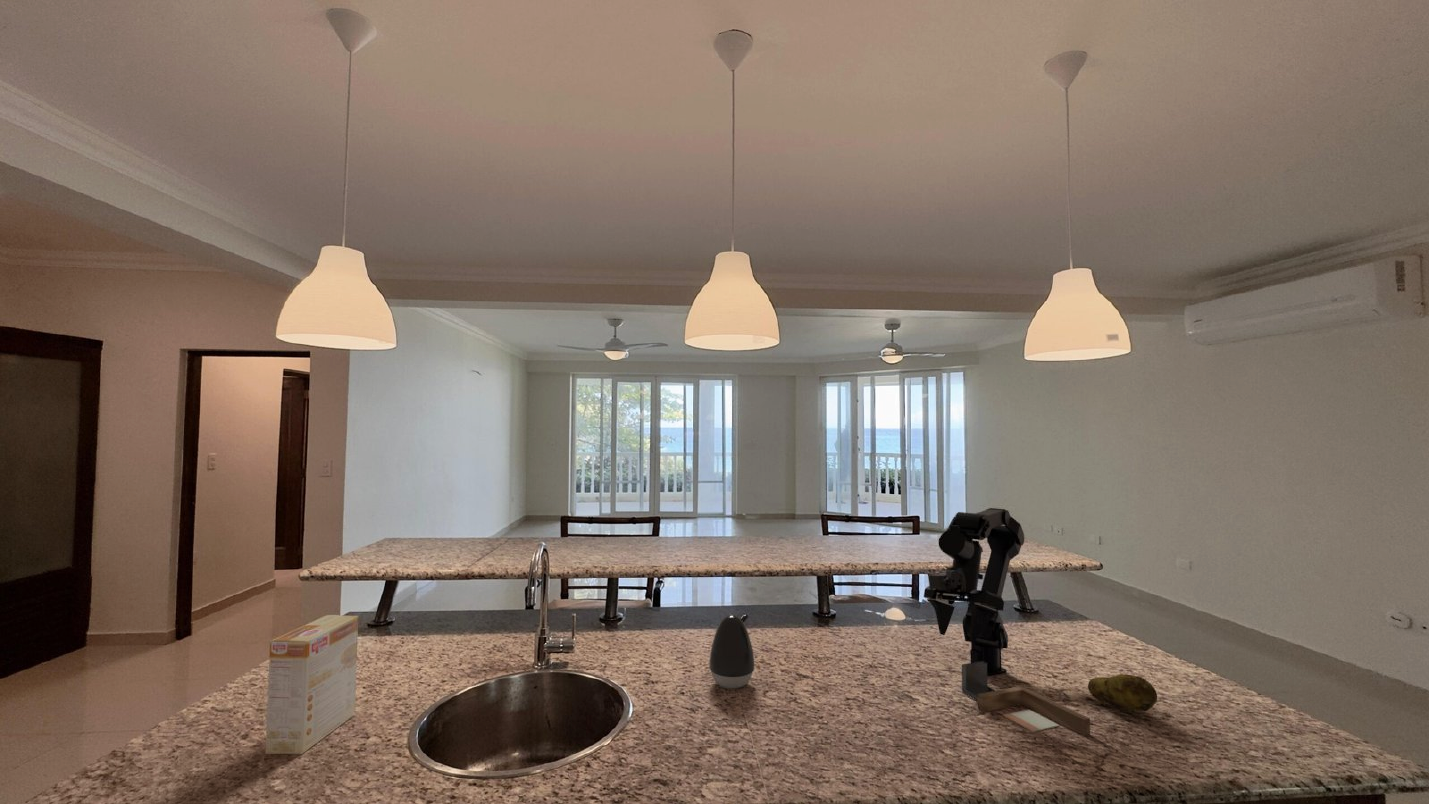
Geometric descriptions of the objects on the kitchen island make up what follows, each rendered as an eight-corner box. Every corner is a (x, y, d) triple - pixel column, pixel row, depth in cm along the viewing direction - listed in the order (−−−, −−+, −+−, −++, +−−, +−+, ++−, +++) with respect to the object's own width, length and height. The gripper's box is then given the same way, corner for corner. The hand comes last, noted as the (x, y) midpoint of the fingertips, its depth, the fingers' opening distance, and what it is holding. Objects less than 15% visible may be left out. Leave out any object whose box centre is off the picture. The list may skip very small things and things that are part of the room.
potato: (1121, 696, 128) (1120, 659, 129) (1166, 725, 115) (1165, 683, 116) (1083, 696, 128) (1082, 658, 129) (1124, 725, 115) (1122, 683, 116)
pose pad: (1028, 710, 121) (1028, 709, 122) (1059, 726, 115) (1059, 725, 115) (1002, 715, 119) (1002, 714, 119) (1032, 732, 112) (1032, 731, 112)
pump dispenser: (764, 683, 134) (764, 615, 135) (733, 698, 126) (734, 625, 127) (730, 671, 141) (730, 606, 142) (699, 684, 133) (700, 615, 134)
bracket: (983, 688, 132) (982, 661, 132) (1005, 699, 126) (1004, 671, 127) (962, 692, 130) (961, 664, 130) (983, 704, 124) (982, 675, 125)
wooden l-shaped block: (1019, 699, 127) (1019, 685, 127) (1090, 735, 112) (1089, 718, 112) (975, 708, 122) (975, 693, 123) (1043, 746, 107) (1042, 729, 108)
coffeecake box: (321, 714, 118) (326, 614, 119) (356, 714, 118) (360, 614, 119) (262, 754, 103) (267, 640, 104) (302, 755, 103) (307, 640, 104)
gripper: (910, 555, 142) (899, 623, 136) (968, 556, 125) (959, 633, 119) (947, 569, 144) (938, 635, 139) (1009, 571, 128) (1001, 647, 122)
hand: (956, 637), depth 130 cm, fingers open, 9 cm apart
